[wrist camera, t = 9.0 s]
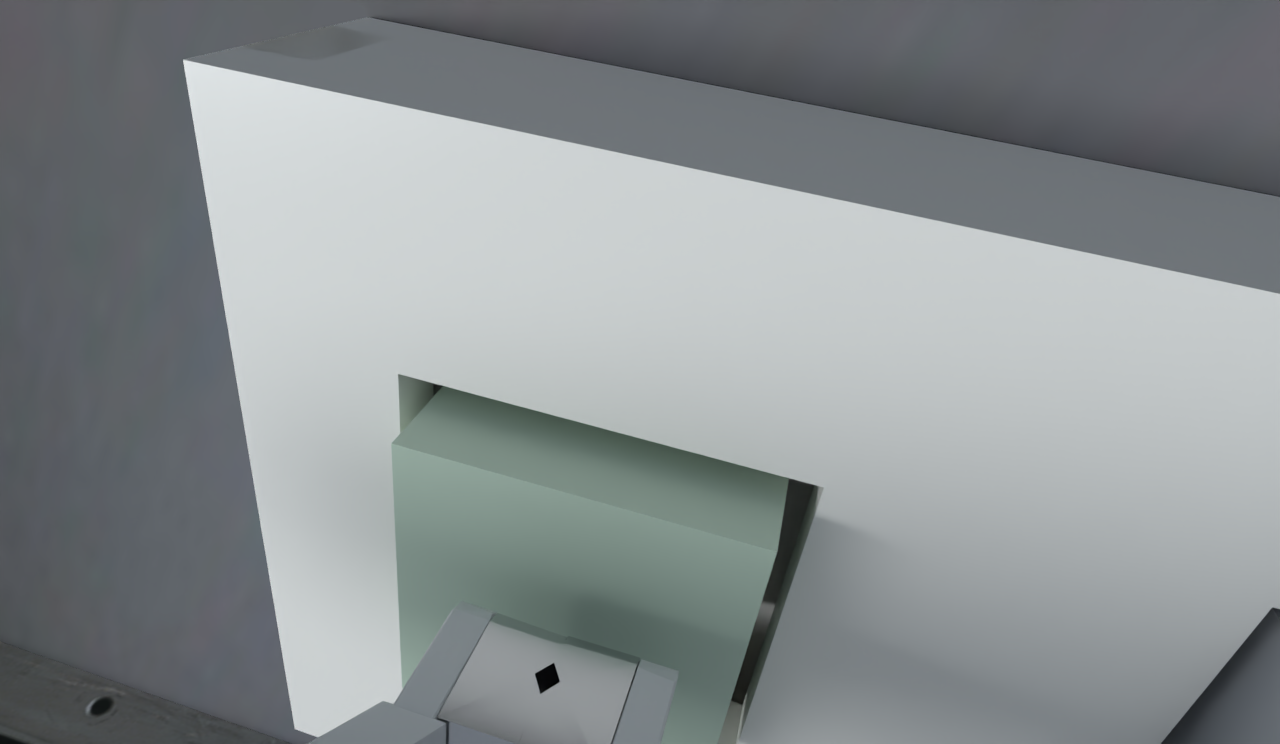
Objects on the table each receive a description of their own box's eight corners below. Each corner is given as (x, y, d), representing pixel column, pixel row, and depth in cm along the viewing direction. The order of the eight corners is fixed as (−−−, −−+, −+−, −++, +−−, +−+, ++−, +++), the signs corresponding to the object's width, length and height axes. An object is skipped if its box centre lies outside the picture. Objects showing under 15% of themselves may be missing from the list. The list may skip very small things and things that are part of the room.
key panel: (2072, 352, 9) (2725, 602, 6) (1379, 892, 16) (1506, 1146, 13) (368, 17, 13) (183, 60, 9) (395, 587, 20) (295, 729, 16)
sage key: (798, 415, 12) (776, 552, 9) (733, 635, 15) (703, 786, 12) (488, 336, 13) (391, 443, 10) (480, 559, 15) (401, 688, 13)
